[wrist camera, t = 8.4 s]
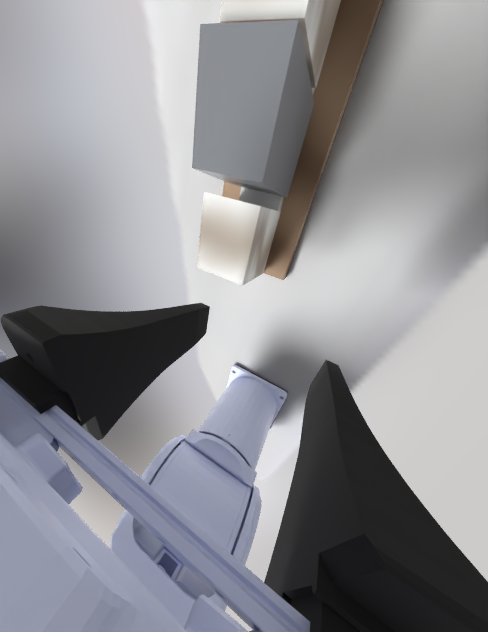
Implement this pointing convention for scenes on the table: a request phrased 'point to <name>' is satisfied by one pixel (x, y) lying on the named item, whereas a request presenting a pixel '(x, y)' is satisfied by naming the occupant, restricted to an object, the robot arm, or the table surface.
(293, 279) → the table surface
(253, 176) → the block
